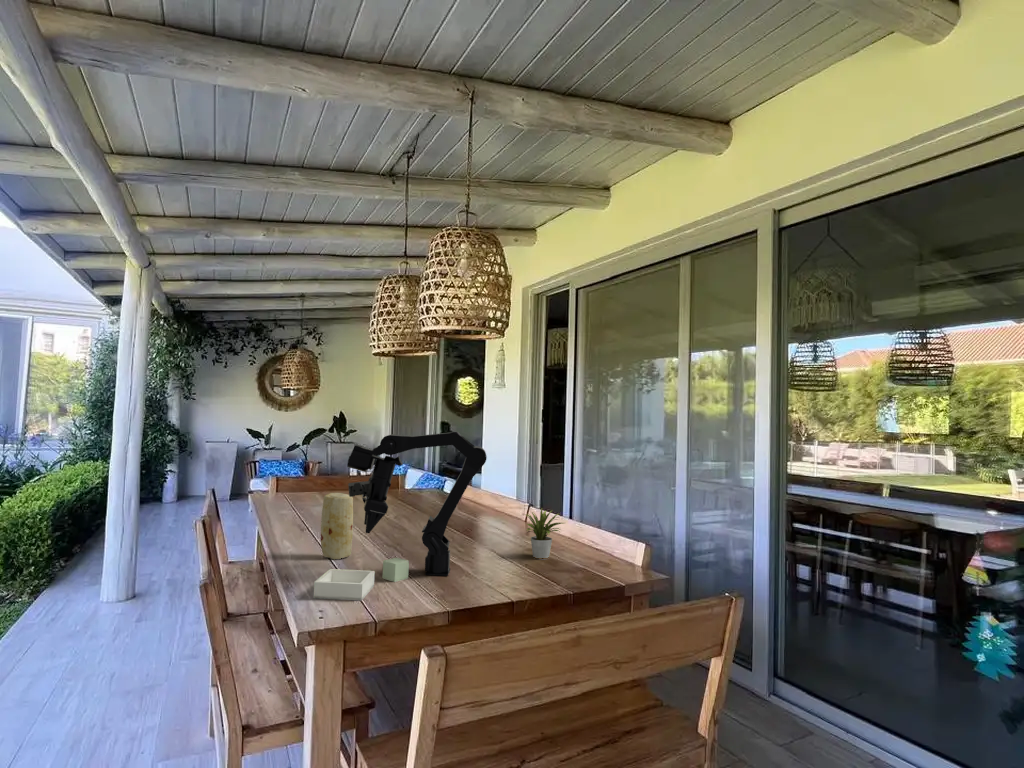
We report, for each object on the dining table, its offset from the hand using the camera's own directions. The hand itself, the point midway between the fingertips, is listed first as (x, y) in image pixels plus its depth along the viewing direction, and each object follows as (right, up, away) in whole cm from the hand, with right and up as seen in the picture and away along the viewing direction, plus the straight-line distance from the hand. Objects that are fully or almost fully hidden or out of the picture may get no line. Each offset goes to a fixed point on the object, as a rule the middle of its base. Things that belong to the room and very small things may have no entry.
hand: (366, 528), depth 173 cm
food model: (-13, -13, +14) cm, 23 cm away
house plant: (+51, -15, +22) cm, 58 cm away
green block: (+9, -12, -6) cm, 17 cm away
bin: (-1, -11, -20) cm, 23 cm away
